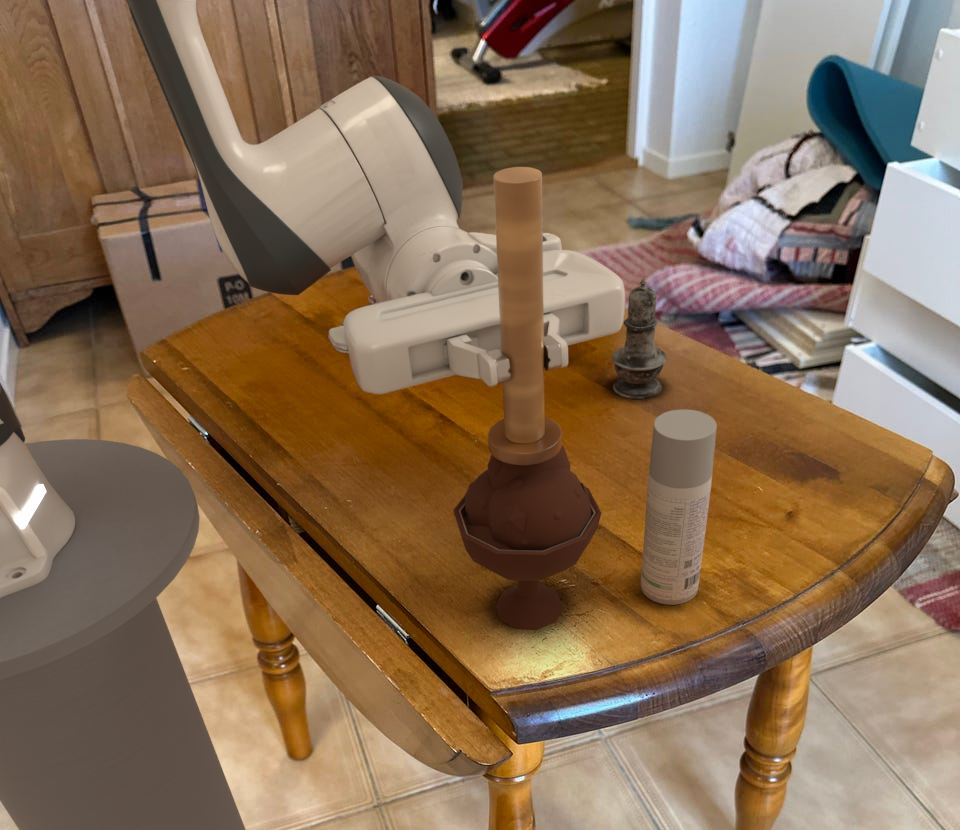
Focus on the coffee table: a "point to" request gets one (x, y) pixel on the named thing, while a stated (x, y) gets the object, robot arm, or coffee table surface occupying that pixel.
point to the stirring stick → (522, 320)
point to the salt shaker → (639, 348)
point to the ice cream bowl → (527, 532)
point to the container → (677, 505)
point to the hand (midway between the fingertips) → (530, 365)
